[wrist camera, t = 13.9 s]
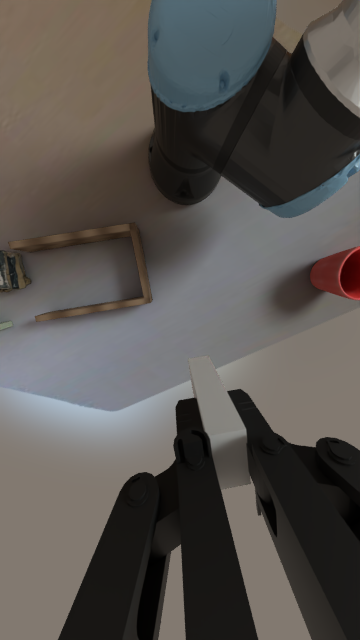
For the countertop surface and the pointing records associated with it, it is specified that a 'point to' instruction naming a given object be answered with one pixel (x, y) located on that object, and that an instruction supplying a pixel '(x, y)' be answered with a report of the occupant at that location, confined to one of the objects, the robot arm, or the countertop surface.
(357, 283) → the flower pot
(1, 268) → the rock
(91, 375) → the countertop surface
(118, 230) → the cubby
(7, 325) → the bracket
